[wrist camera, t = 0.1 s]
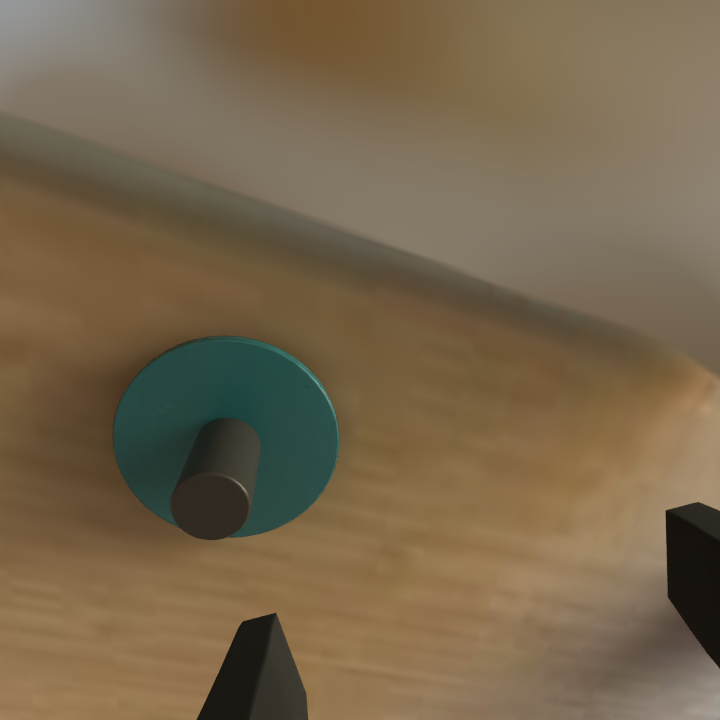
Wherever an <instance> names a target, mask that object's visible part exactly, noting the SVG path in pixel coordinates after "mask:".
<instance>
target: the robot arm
mask: <svg viewBox="0 0 720 720" xmlns="http://www.w3.org/2000/svg"><path fill="white" fill-rule="evenodd" d="M666 542H667V581H668V598H669V599H670V601H671V602H672V604H673V605H674V607H675V608H676V610H677V611H678V613H679V614H680V616H681V617H682V619H683V620H684V622H685V623H686V624H687V626H688V627H689V629H690V630H691V632H692V633H693V634H694V636H695V637H696V639H697V640H698V641H699V643H700V644H701V645H702V647H703V648H704V650H705V651H706V652H707V654H708V655H709V656H710V657H711V658H712V660H713V661H714V662H715V663H716V664H717V666H718V667H719V668H720V511H719V510H716V509H714V508H712V507H709V506H707V505H704V504H702V503H699V502H696V503H692V504H689V505H685V506H681V507H677V508H673V509H670V510H666ZM197 720H308V712H307V698H306V692H305V689H304V686H303V684H302V681H301V678H300V676H299V673H298V670H297V668H296V665H295V662H294V660H293V657H292V654H291V652H290V649H289V646H288V643H287V641H286V638H285V635H284V633H283V630H282V627H281V625H280V622H279V619H278V617H277V614H276V613H273V614H270V615H266V616H262V617H258V618H254V619H251V620H247V621H243V622H242V623H241V625H240V626H239V628H238V630H237V632H236V635H235V637H234V639H233V641H232V644H231V646H230V648H229V651H228V653H227V655H226V657H225V660H224V662H223V664H222V666H221V669H220V671H219V673H218V675H217V677H216V680H215V682H214V684H213V686H212V688H211V690H210V693H209V695H208V697H207V699H206V701H205V703H204V706H203V708H202V710H201V712H200V714H199V716H198V718H197Z"/></svg>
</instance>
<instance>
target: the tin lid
mask: <svg viewBox="0 0 720 720" xmlns="http://www.w3.org/2000/svg"><path fill="white" fill-rule="evenodd" d="M113 447H114V452H115V457H116V461H117V464H118V466H119V469H120V472H121V474H122V476H123V478H124V480H125V481H126V483H127V485H128V486H129V488H130V489H131V491H132V492H133V493H134V495H135V496H136V497H137V498H138V499H139V500H140V501H141V502H142V503H143V504H144V505H145V506H146V507H147V508H148V509H149V510H151V511H152V512H153V513H154V514H156V515H157V516H159V517H160V518H162V519H164V520H165V521H167V522H169V523H171V524H173V525H175V526H177V527H179V528H181V529H182V530H183V531H185V532H186V533H188V534H189V535H191V536H194V537H196V538H200V539H205V540H218V539H223V538H226V537H244V536H251V535H256V534H261V533H264V532H267V531H270V530H273V529H276V528H278V527H280V526H282V525H284V524H286V523H288V522H290V521H291V520H293V519H295V518H296V517H298V516H299V515H300V514H302V513H303V512H304V511H306V510H307V509H308V508H309V507H310V506H311V505H312V504H313V503H314V502H315V501H316V500H317V498H318V497H319V496H320V495H321V493H322V492H323V491H324V489H325V487H326V486H327V484H328V482H329V480H330V478H331V476H332V474H333V471H334V469H335V465H336V461H337V457H338V449H339V431H338V424H337V419H336V414H335V411H334V408H333V405H332V402H331V400H330V398H329V396H328V394H327V392H326V390H325V388H324V387H323V386H322V384H321V383H320V381H319V380H318V379H317V377H316V376H315V375H314V374H313V373H312V372H311V371H310V370H309V369H308V368H307V367H306V366H305V365H304V364H302V363H301V362H300V361H299V360H297V359H296V358H295V357H293V356H291V355H290V354H288V353H287V352H285V351H283V350H281V349H279V348H277V347H275V346H272V345H270V344H267V343H264V342H261V341H258V340H254V339H249V338H244V337H235V336H213V337H205V338H200V339H194V340H191V341H188V342H185V343H182V344H179V345H177V346H175V347H173V348H171V349H168V350H166V351H165V352H163V353H162V354H160V355H159V356H157V357H156V358H154V359H153V360H152V361H151V362H149V363H148V364H147V365H146V366H145V367H144V368H143V369H142V370H141V371H140V372H139V373H138V374H137V376H136V377H135V378H134V379H133V380H132V381H131V383H130V384H129V386H128V387H127V389H126V390H125V392H124V394H123V395H122V398H121V400H120V402H119V405H118V407H117V411H116V415H115V419H114V426H113Z"/></svg>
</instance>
